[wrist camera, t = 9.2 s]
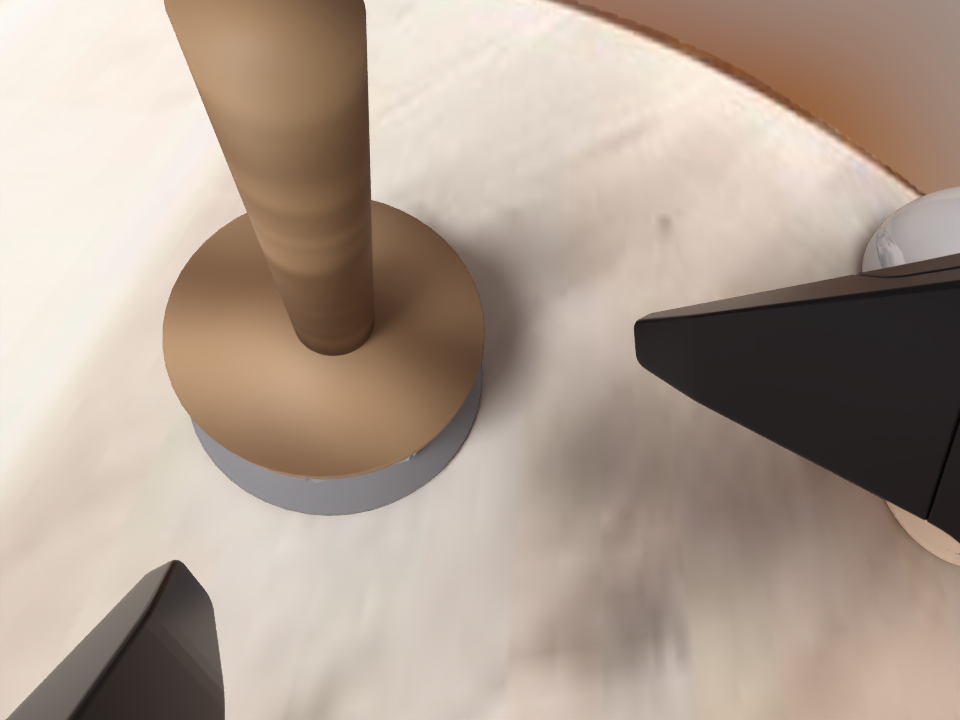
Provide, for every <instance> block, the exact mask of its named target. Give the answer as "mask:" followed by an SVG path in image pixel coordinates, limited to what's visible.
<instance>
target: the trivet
mask: <svg viewBox="0 0 960 720" xmlns="http://www.w3.org/2000/svg"><path fill="white" fill-rule="evenodd" d="M481 387H482V365H481V363H480V367H479V370H478V372H477V375H476V378H475V381H474V383H473V385H472V387H471V389H470V391H469V393H468V395H467V397H466V399H465V401H464V402H463V404H462V406H461V407H460V409H459V410H458V412H457V413H456V414H455V416H454V417H453V419H452V420H451V421H450V423H449V424H448V425H447V426H446V427H445V428H444V429H443V430H442V431H441V432H440V433H439V434H438V435H437V436H436V437H435V438H434V439H433V440H432V441H430V442H429V443H428V444H427V445H425V446H424V447H423V448H422V449H420V450H419V451H418V452H417V453H416V455H415V457H414V456H413V455H411V456H410V457H409V460H408V461H406V462H402V463H398V464H394V465H391V466H389V467H387V468H384V469H381V470H378V471H375V472H372V473H369V474H365V475H360V476H355V477H349V478H344V479H330V480H326V481H322V482H318V483H314V482H313V481H312V480H311V479H309V480H308V481H307V482H306V481H305V480H303V479H301V478H297V477H292V476H287V475H282V474H278V473H275V472H272V471H269V470H266V469H263V468H261V467H258V466H256V465H254V464H252V463H250V462H248V461H246V460H244V459H242V458H240V457H238V456H237V455H235V454H233V453H232V452H230V451H229V450H227V449H226V448H224V447H223V446H222V445H220V444H219V443H217V442H216V441H215V440H213V439H212V438H211V437H209V436H208V435H207V434H206V433H205V432H204V431H203V430H202V429H201V428H200V427H199V426H198V425H197V424H196V423H195V422H194V420H193V419H192V418H191V420H192V423H193V426H194V429H195V432H196V434H197V436H198V438H199V440H200V442H201V444H202V446H203V448H204V450H205V451H206V452H207V454H208V455H209V457H210V458H211V459H212V461H213V462H214V463H215V465H216V466H217V467H218V468H219V469H220V470H221V471H222V472H223V473H224V474H225V475H226V476H227V477H228V478H229V479H230V480H231V481H233V482H234V483H235V484H237V485H238V486H239V487H241V488H242V489H243V490H245V491H246V492H248V493H250V494H252V495H253V496H255V497H257V498H259V499H261V500H263V501H265V502H267V503H270V504H273V505H275V506H278V507H281V508H284V509H286V510H291V511H295V512H300V513H305V514H313V515H326V516H332V515H349V514H355V513H360V512H365V511H370V510H373V509H376V508H379V507H382V506H385V505H389V504H391V503H393V502H395V501H397V500H399V499H401V498H404V497H406V496H408V495H409V494H411V493H412V492H414V491H416V490H417V489H419V488H420V487H422V486H423V485H425V484H426V483H427V482H428V481H429V480H431V479H432V478H433V477H434V476H435V475H437V474H438V473H439V472H440V471H441V470H442V469H443V468H444V466H445V465H446V464H447V463H448V462H449V461H450V460H451V459H452V458H453V456H454V455H455V453H456V452H457V451H458V449H459V448H460V446H461V445H462V443H463V442H464V440H465V438H466V436H467V434H468V432H469V430H470V428H471V426H472V424H473V421H474V418H475V415H476V412H477V409H478V405H479V400H480V395H481ZM190 417H191V416H190Z"/></svg>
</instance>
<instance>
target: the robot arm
mask: <svg viewBox="0 0 960 720" xmlns="http://www.w3.org/2000/svg"><path fill="white" fill-rule="evenodd" d="M634 337H635V350H636V357H637V360H638V362H639V363H640V364H641V366H642V367H644V368H645V369H646V370H648V371H649V372H651V373H653V374H654V375H656V376H657V377H659V378H660V379H662V380H663V381H665V382H666V383H668V384H669V385H671V386H673V387H674V388H676V389H677V390H679V391H680V392H682V393H683V394H685V395H686V396H688V397H690V398H691V399H693V400H695V401H696V402H698V403H700V404H702V405H704V406H706V407H707V408H709V409H711V410H713V411H715V412H717V413H719V414H721V415H723V416H725V417H727V418H729V419H730V420H732V421H734V422H736V423H738V424H740V425H742V426H744V427H746V428H748V429H750V430H752V431H754V432H755V433H757V434H759V435H761V436H763V437H765V438H767V439H769V440H771V441H773V442H775V443H777V444H778V445H780V446H782V447H784V448H786V449H788V450H790V451H792V452H794V453H796V454H798V455H800V456H801V457H803V458H805V459H807V460H809V461H811V462H813V463H815V464H817V465H819V466H821V467H823V468H824V469H826V470H828V471H830V472H832V473H834V474H836V475H838V476H840V477H842V478H844V479H846V480H848V481H849V482H851V483H853V484H855V485H857V486H859V487H861V488H863V489H865V490H867V491H869V492H871V493H872V494H874V495H876V496H878V497H880V498H882V499H884V500H886V501H888V502H890V503H892V504H894V505H895V506H897V507H899V508H901V509H903V510H905V511H907V512H909V513H911V514H913V515H915V516H917V517H918V518H920V519H922V520H927V522H928V523H930V524H932V525H933V526H935V527H937V528H939V529H940V530H942V531H943V532H945V533H946V534H948V535H949V536H950V537H952V538H953V539H954V540H956V541H957V542H958V543H959V544H960V253H957V254H952V255H947V256H942V257H937V258H932V259H928V260H923V261H918V262H913V263H908V264H903V265H898V266H892V267H887V268H882V269H877V270H872V271H867V272H862V273H858V274H857V275H849V276H844V277H839V278H834V279H828V280H823V281H818V282H813V283H807V284H802V285H797V286H792V287H787V288H781V289H776V290H771V291H766V292H760V293H755V294H750V295H745V296H739V297H734V298H729V299H724V300H718V301H713V302H708V303H703V304H697V305H692V306H687V307H682V308H677V309H671V310H666V311H661V312H656V313H651V314H648V315H646V316H645V317H643V318H641V319H639V320H637V321H636V323H635V325H634ZM6 720H225V699H224V685H223V676H222V668H221V661H220V653H219V646H218V639H217V631H216V624H215V616H214V609H213V605H212V602H211V600H210V597H209V596H208V594H207V592H206V591H205V590H204V588H203V587H202V586H201V585H200V583H199V582H198V581H197V580H196V578H195V577H194V576H193V575H192V573H191V572H190V571H189V570H188V568H187V567H186V566H185V565H184V564H183V563H182V562H181V561H179V560H172V561H170V562H168V563H166V564H164V565H162V566H160V567H158V568H156V569H154V570H152V571H151V572H149V573H148V574H146V575H145V576H144V577H143V578H142V579H141V580H140V581H139V582H138V583H137V584H136V585H135V586H134V588H133V589H132V590H131V591H130V592H129V593H128V594H127V595H126V596H125V597H124V598H123V599H122V600H121V601H120V602H119V603H118V604H117V605H116V606H115V607H114V608H113V609H112V610H111V611H110V612H109V613H108V614H107V615H106V617H105V618H104V619H103V620H102V621H101V622H100V623H99V624H98V625H97V626H96V627H95V628H94V629H93V630H92V631H91V632H90V633H89V634H88V635H87V636H86V637H85V638H84V639H83V640H82V641H81V642H80V643H79V644H78V645H77V647H76V648H75V649H74V650H73V651H72V652H71V653H70V654H69V655H68V656H67V657H66V658H65V659H64V660H63V661H62V662H61V663H60V664H59V665H58V666H57V667H56V668H55V669H54V670H53V671H52V672H51V673H50V674H49V675H48V677H47V678H46V679H45V680H44V681H43V682H42V683H41V684H40V685H39V686H38V687H37V688H36V689H35V690H34V691H33V692H32V693H31V694H30V695H29V696H28V697H27V698H26V699H25V700H24V701H23V702H22V703H21V704H20V706H19V707H18V708H17V709H16V710H15V711H14V712H13V713H12V714H11V715H10V716H9V717H8V718H7V719H6Z"/></svg>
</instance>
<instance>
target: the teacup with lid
mask: <svg viewBox="0 0 960 720" xmlns="http://www.w3.org/2000/svg"><path fill="white" fill-rule="evenodd" d="M885 501H886V500H885ZM886 503H887V505H888V507H889V508H890V510H891V512H892V513H893V515H894V516H895V518H896V519H897V521H898V522H899V523H900V525H901V526H902V527H903V528H904V529H905V531H906V532H907V533H908V534H909V535H910V536H911V537H912V538H913V539H914V540H915V541H916V542H917V543H919V544H920V545H921V546H922V547H923V548H925V549H926V550H928V551H929V552H930V553H932V554H934V555H935V556H937V557H939V558H941V559H943V560H945V561H947V562H950V563H952V564H955V565H958V566H960V544H959V543H958V542H957V541H956V540H954V539H953V538H952V537H950V536H949V535H948V534H946V533H945V532H943V531H942V530H940V529H939V528H937V527H935V526H933V525H932V524H930V523H928V522H927V520H922V519H920V518H918V517H917V516H915V515H913V514H911V513H909V512H907V511H905V510H903V509H901V508H899V507H897V506H895V505H894V504H892V503H890V502H888V501H886Z"/></svg>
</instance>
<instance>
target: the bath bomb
mask: <svg viewBox="0 0 960 720" xmlns="http://www.w3.org/2000/svg"><path fill="white" fill-rule="evenodd" d="M957 253H960V187H954V188H949V189H943V190H940V191H937V192H934V193H931V194H928V195H925V196H922V197H919V198H917V199H916V200H914V201H912V202H910V203H908V204H906V205H904V206H903V207H902V208H900V209H899V210H897V211H896V212H895V213H893V214H892V215H891V216H890V217H888V218H887V219H886V220H885V221H884V222H883V223H882V224H881V226H880V227H879V228H878V229H877V230H876V232H875V233H874V234H873V236H872V238H871V239H870V241H869V243H868V245H867V247H866V250H865V253H864V258H863V263H862V271H863V272H867V271H872V270H877V269H882V268H887V267H892V266H898V265H903V264H908V263H913V262H918V261H923V260H928V259H932V258H937V257H942V256H947V255H952V254H957Z"/></svg>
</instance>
